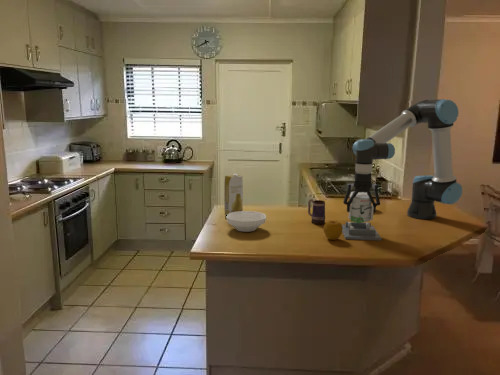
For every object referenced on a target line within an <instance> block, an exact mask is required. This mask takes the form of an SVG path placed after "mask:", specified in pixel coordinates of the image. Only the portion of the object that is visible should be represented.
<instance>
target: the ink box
mask: <svg viewBox="0 0 500 375" xmlns="http://www.w3.org/2000/svg"><path fill="white" fill-rule="evenodd" d="M371 205H372V202H371V200H370V198H369V197H368V196H356V197H355V198H353V201H352V205H351V206H352V210H351V219H350V222H356V223H369V222H371V219H370V218H371Z"/></svg>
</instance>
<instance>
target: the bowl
mask: <svg viewBox="0 0 500 375" xmlns="http://www.w3.org/2000/svg"><path fill="white" fill-rule="evenodd" d="M225 217H226V221H227V223H228V224H229V225H231V226H232V227H234V228H235V229H236V230H237V231H238V232H250V233H251V232H255V230H257V229H258V228H259V227H260V226H262V225H263V224H265V223H266V220H267V215H266V214H265V213H263V212H260V211H255V210H254V211H253V210H243V211H237V212H232V213H229V214H227V216H225Z"/></svg>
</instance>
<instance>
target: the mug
mask: <svg viewBox="0 0 500 375" xmlns="http://www.w3.org/2000/svg"><path fill="white" fill-rule="evenodd" d="M311 202H312V212H311ZM307 205H308V206H307V213H308V215H309V216H310V217H311V223H312V224H313V223H314V224H313V225H318V224H321V225H325V223H326V202H325V201H324V200H321V199H316V200H314V199H312V198H310V199H308V201H307Z"/></svg>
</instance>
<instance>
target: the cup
mask: <svg viewBox="0 0 500 375" xmlns="http://www.w3.org/2000/svg"><path fill="white" fill-rule="evenodd" d="M353 193H354V191H350V194H349V199H350V198H351V196H352V194H353ZM356 196H368V194H367V192H366V193H364V192H358V194H357V195H356ZM368 197H369V196H368ZM350 205H351V206H352V203H351V204H350Z"/></svg>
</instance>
